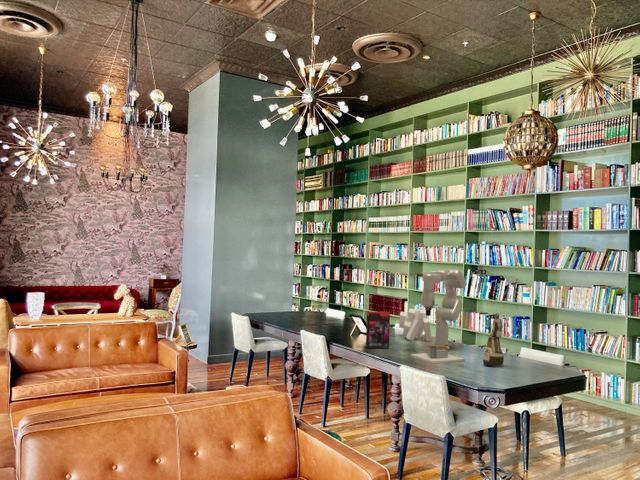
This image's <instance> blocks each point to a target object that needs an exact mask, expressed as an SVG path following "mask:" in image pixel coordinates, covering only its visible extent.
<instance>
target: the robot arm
mask: <svg viewBox="0 0 640 480" xmlns="http://www.w3.org/2000/svg"><path fill="white" fill-rule="evenodd" d="M421 278H422V279H421V280H422V281H423V289H422V290H423V292H422V294H421V304H420V305H422V307H424V310H425V312H426V317H427V316H430V317H431V312H432V311H431V310H432V309H435V308H434V307H435V304H436V302H435V301H436V300H435V299H436V298H435V284H440V283H441V282H444V287H445V294H444V296H443V299H442V301H441V307H438V308H436V310H435V312H434V313H435V314H434V315H435V342H434V343H435V345H434V346H445V344H448V346H449V348H448V351H449V350H450V349H451V347H452V346H453V344H454V343H452V342H450V343H449V327H450V326H449V324H448V323H449V322H456V321H457V320H458V318H459V316H460V314H461V311H462V308H463V301H462V299H461V298H458V297H457V293H456V291H455V290H454V289H465V288H466V287H467V281H466V278H465V276H464V274H463V272H462V271H461V270H460V269H455V268H445V269H442V270H435V271H427V272H424V273H423V274H422V277H421Z"/></svg>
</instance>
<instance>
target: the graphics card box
mask: <svg viewBox="0 0 640 480" xmlns="http://www.w3.org/2000/svg"><path fill="white" fill-rule="evenodd" d="M390 316H391V313H390V312H389V311H370V310H369V311H366V328H365V329H366V330H365V334H366V335H365V337H366V338H365V347H366V348H367V349H390V325H391V324H390V323H391V322H390V320H391V317H390Z"/></svg>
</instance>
